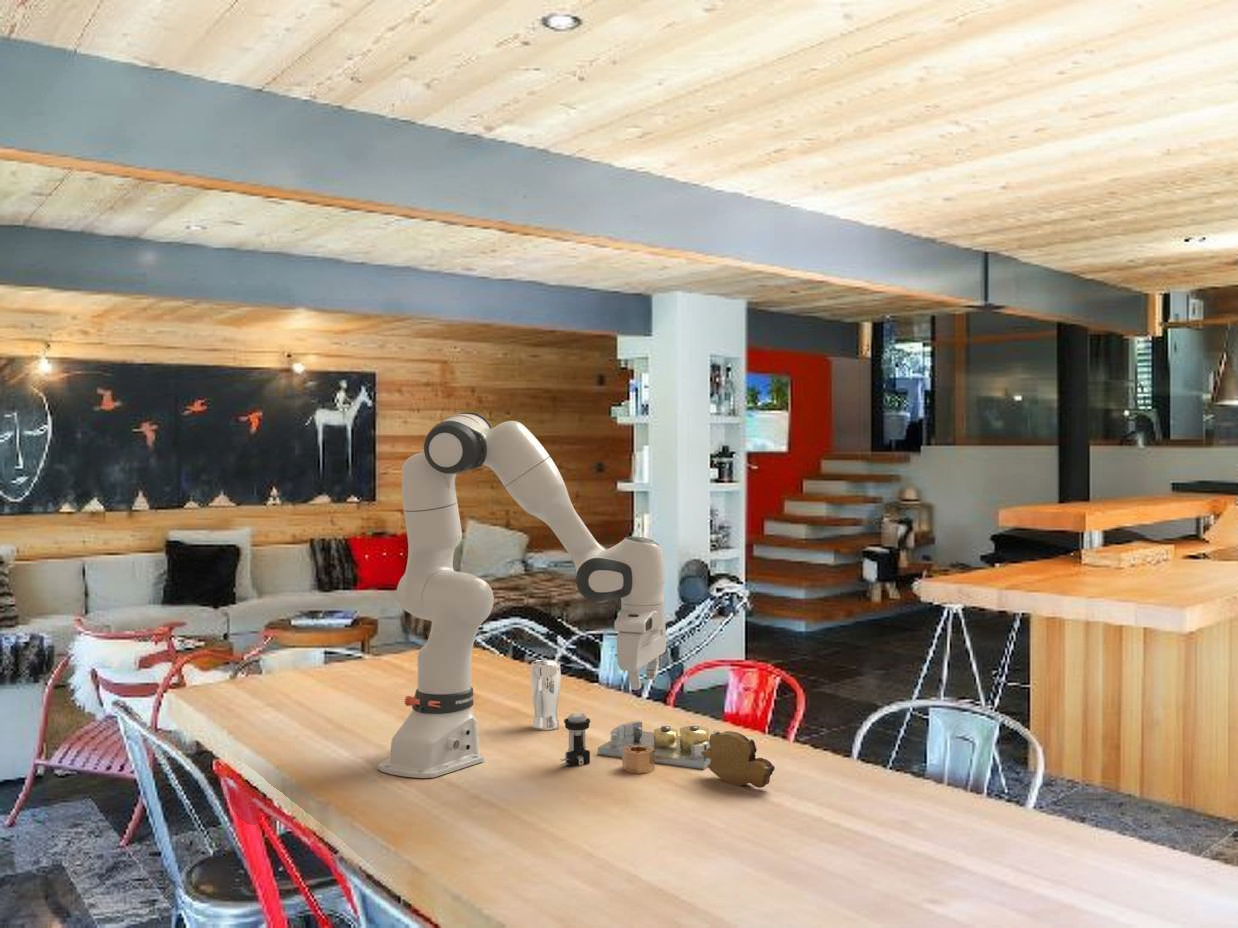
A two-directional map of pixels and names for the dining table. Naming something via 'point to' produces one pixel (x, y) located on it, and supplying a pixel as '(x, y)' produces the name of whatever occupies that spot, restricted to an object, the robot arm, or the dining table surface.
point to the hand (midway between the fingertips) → (643, 683)
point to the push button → (576, 740)
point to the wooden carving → (737, 760)
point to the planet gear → (638, 759)
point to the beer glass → (545, 693)
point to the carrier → (662, 744)
